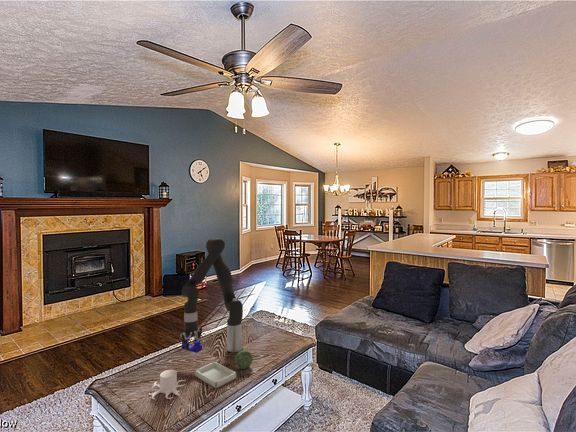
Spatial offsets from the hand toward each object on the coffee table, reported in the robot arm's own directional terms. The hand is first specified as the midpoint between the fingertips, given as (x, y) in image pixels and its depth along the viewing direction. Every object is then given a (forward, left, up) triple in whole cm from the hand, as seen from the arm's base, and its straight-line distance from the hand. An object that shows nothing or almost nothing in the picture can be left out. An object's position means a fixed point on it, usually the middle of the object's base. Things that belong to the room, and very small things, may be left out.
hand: (191, 347), depth 186 cm
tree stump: (+21, +11, -12) cm, 26 cm away
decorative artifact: (-18, +27, -11) cm, 34 cm away
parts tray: (-2, +21, -11) cm, 23 cm away
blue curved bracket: (0, 0, -1) cm, 1 cm away
